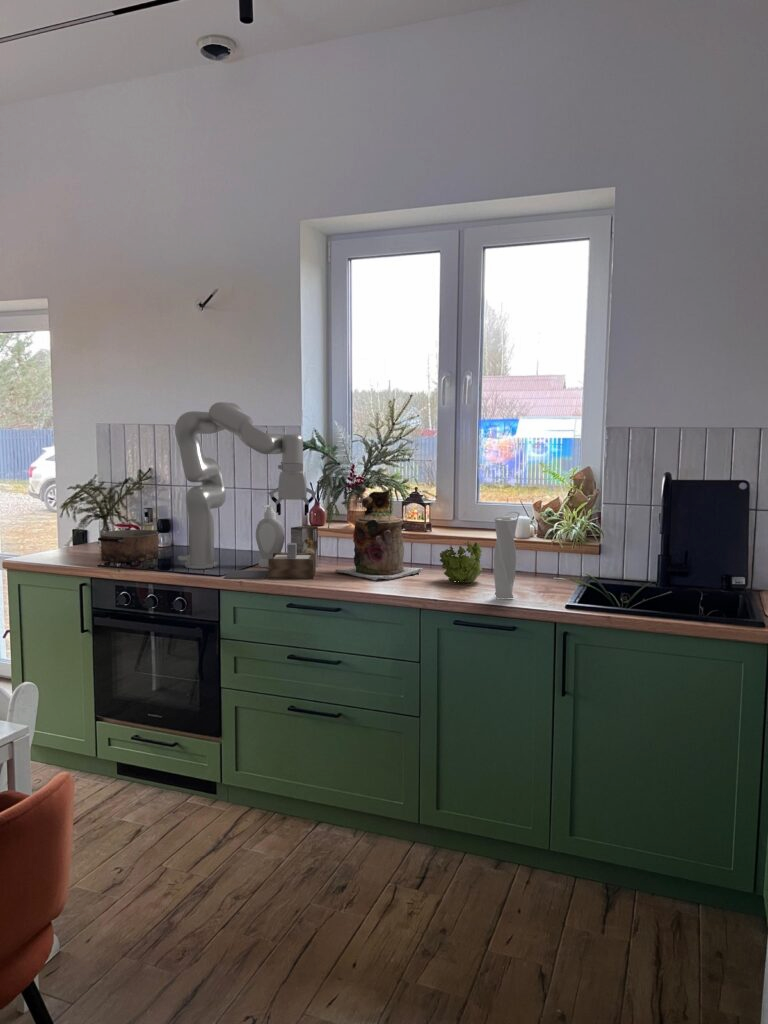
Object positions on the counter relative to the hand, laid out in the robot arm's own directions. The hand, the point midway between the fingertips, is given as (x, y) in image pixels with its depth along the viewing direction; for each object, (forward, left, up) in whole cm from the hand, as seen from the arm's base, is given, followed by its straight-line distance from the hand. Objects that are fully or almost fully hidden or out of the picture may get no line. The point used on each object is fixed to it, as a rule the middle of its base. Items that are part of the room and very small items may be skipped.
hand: (292, 515), depth 279 cm
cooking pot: (-70, +35, -23) cm, 81 cm away
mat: (-16, 0, -22) cm, 28 cm away
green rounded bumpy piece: (+61, -10, -23) cm, 66 cm away
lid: (0, 0, -17) cm, 17 cm away
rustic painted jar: (+32, +5, -23) cm, 40 cm away
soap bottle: (-11, +17, -23) cm, 30 cm away
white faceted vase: (+72, -36, -23) cm, 84 cm away
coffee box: (+3, +17, -23) cm, 28 cm away
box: (0, 0, -22) cm, 22 cm away
